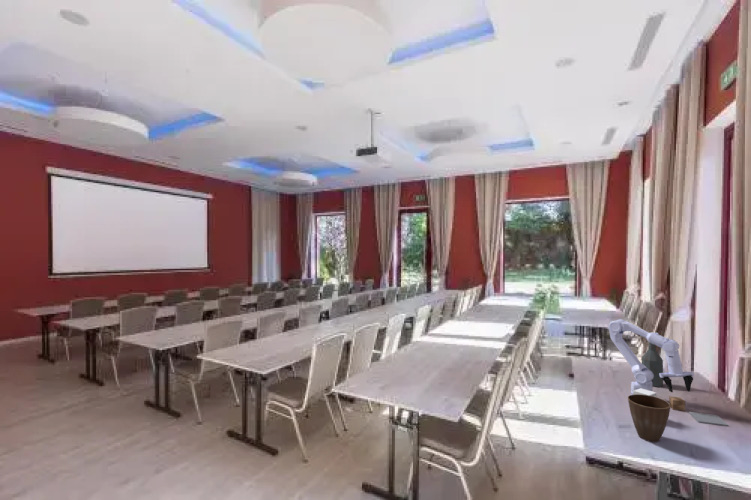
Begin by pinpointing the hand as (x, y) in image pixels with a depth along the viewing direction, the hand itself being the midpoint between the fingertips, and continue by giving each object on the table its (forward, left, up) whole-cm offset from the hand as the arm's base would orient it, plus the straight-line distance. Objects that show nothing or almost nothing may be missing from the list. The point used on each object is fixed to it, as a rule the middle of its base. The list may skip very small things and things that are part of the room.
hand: (679, 391), depth 190 cm
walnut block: (-1, 0, -9) cm, 9 cm away
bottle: (-2, +37, -9) cm, 38 cm away
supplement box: (-19, -18, -9) cm, 28 cm away
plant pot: (-23, -41, -9) cm, 48 cm away
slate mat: (+8, -10, -9) cm, 15 cm away
